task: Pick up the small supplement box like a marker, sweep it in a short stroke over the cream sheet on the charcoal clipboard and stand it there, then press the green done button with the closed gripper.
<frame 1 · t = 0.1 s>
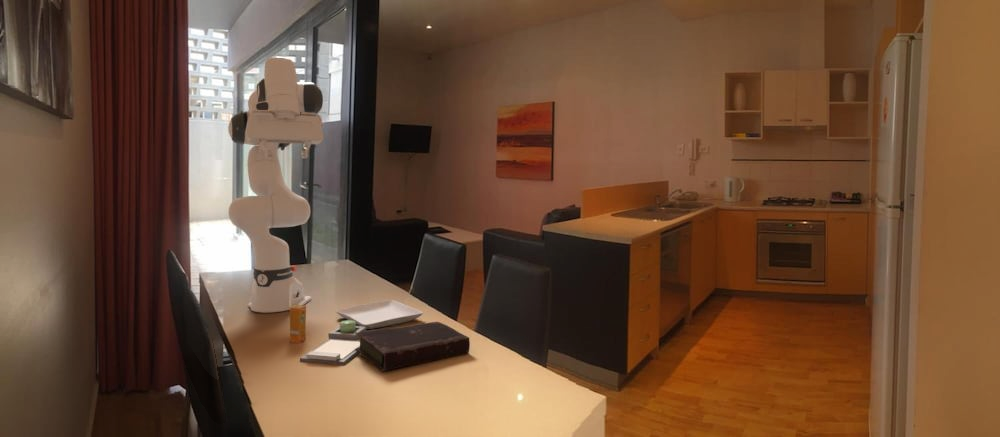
hand: (287, 157, 152), 52 cm above the table, tool tilted 20°, fingers open, 8 cm apart
done button: (347, 327, 159), point 3 cm above the table, slide at 0.0 cm
clipboard: (336, 352, 146), on the table
supplement box: (298, 341, 155), on the table
salad plate: (379, 321, 177), on the table
diary: (412, 352, 146), on the table, touching clipboard
button bezel: (347, 336, 160), on the table
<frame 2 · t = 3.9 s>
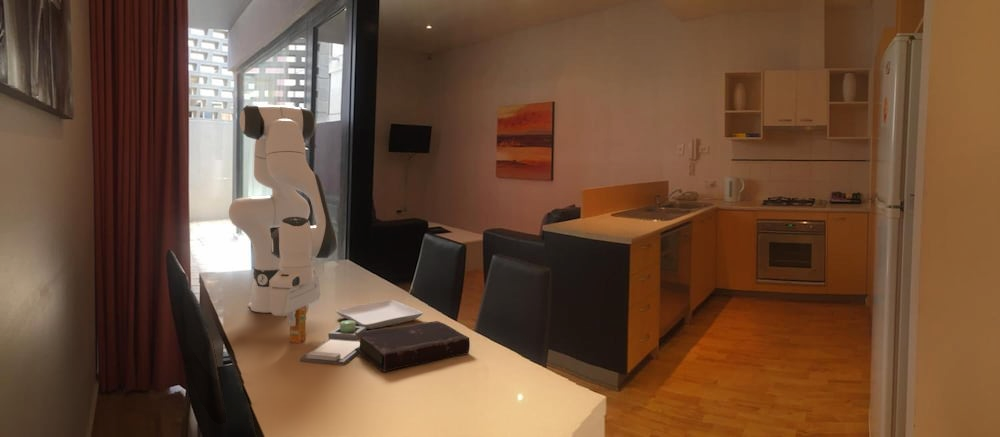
hand: (297, 323, 155), 5 cm above the table, tool pointing down, fingers closed on supplement box, 3 cm apart
supplement box: (298, 341, 155), on the table, touching gripper
everything else where it was.
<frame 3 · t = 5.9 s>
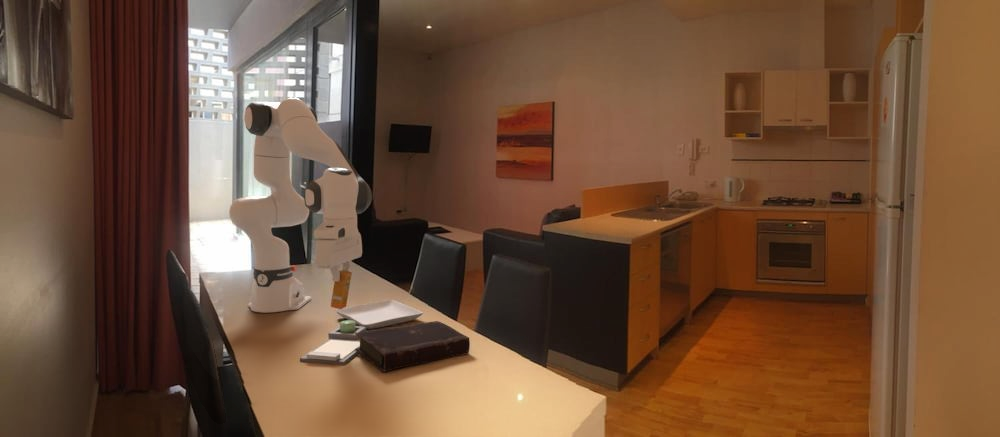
hand: (341, 279, 148), 19 cm above the table, tool pointing down, fingers closed on supplement box, 3 cm apart
supplement box: (338, 307, 148), point 11 cm above the table, touching gripper
everything else where it was.
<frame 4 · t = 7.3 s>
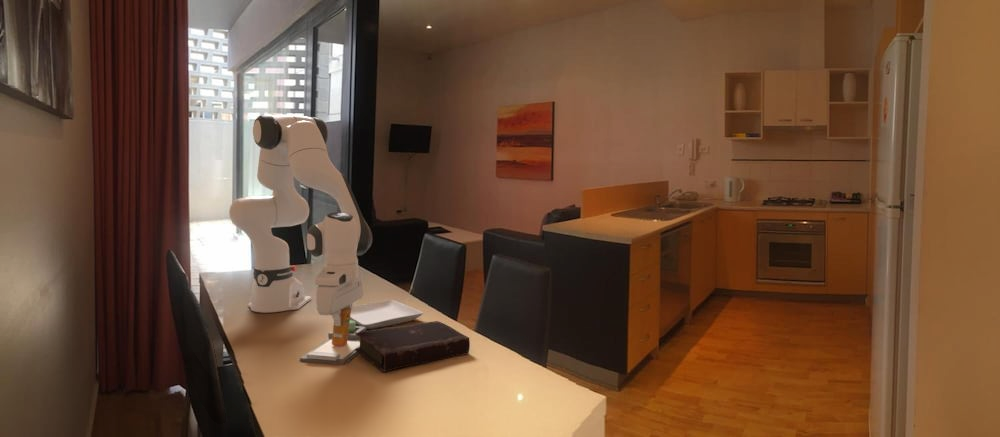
hand: (342, 322, 149), 7 cm above the table, tool pointing down, fingers closed on supplement box, 3 cm apart
supplement box: (340, 344, 149), point 1 cm above the table, touching clipboard, gripper
everything else where it was.
when the fingers open (7 cm above the table, at t = 9.0 s): supplement box stays where it is, resting on clipboard.
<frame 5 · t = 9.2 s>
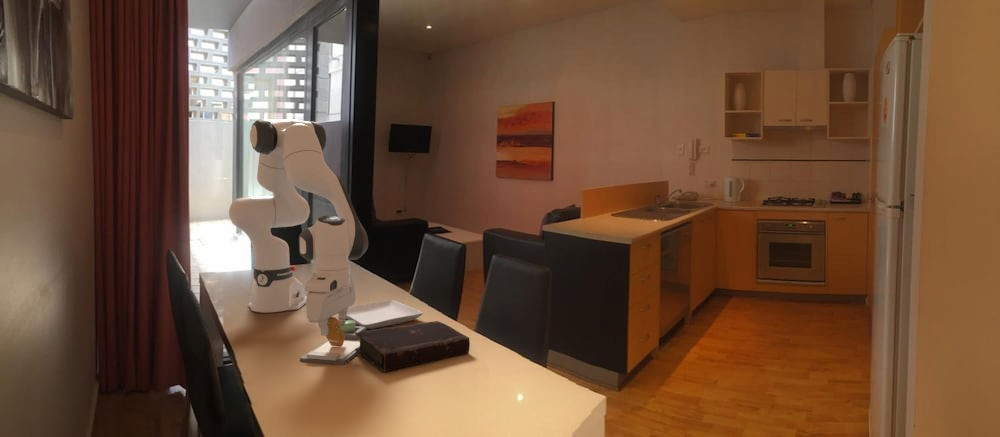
hand: (333, 329, 144), 7 cm above the table, tool pointing down, fingers open, 7 cm apart
supplement box: (339, 341, 149), point 2 cm above the table, touching clipboard, gripper
everything else where it was.
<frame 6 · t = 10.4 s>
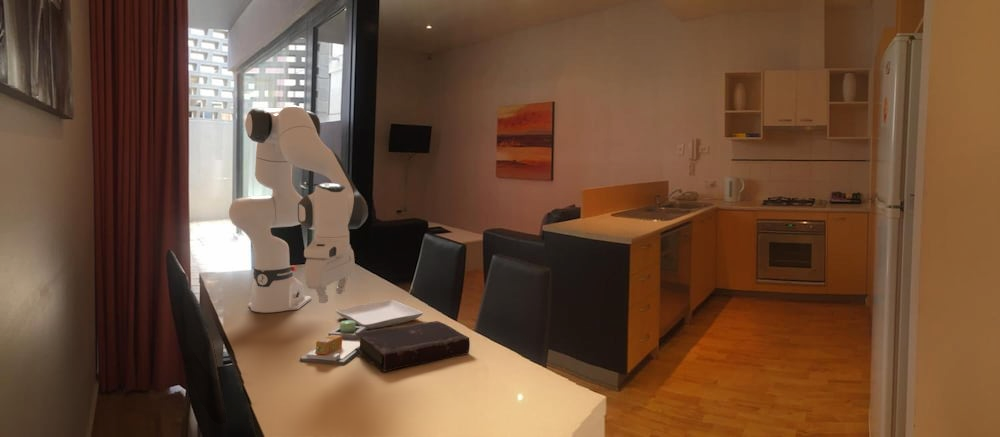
hand: (332, 297, 143), 15 cm above the table, tool pointing down, fingers open, 8 cm apart
supplement box: (337, 340, 148), point 3 cm above the table, touching clipboard
everything else where it was.
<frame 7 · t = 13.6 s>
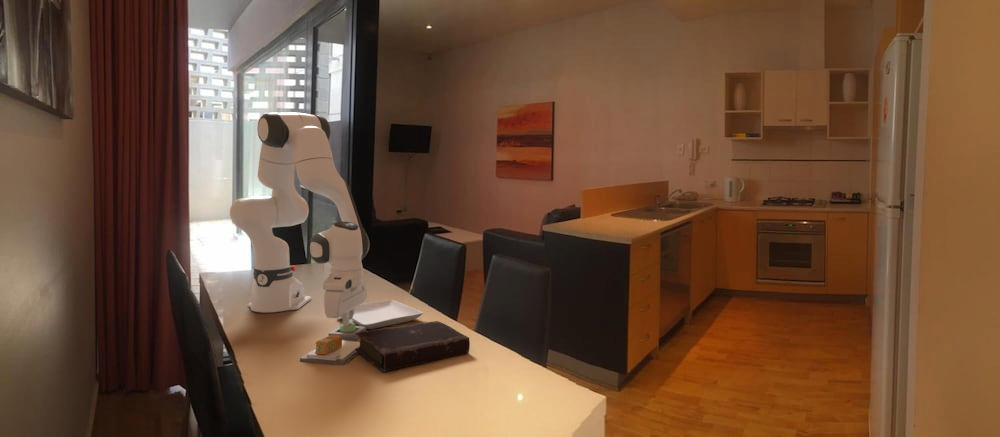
hand: (347, 324, 159), 4 cm above the table, tool pointing down, fingers closed, pressing on done button
done button: (347, 329, 159), point 2 cm above the table, slide at 0.7 cm, touching gripper
everything else where it was.
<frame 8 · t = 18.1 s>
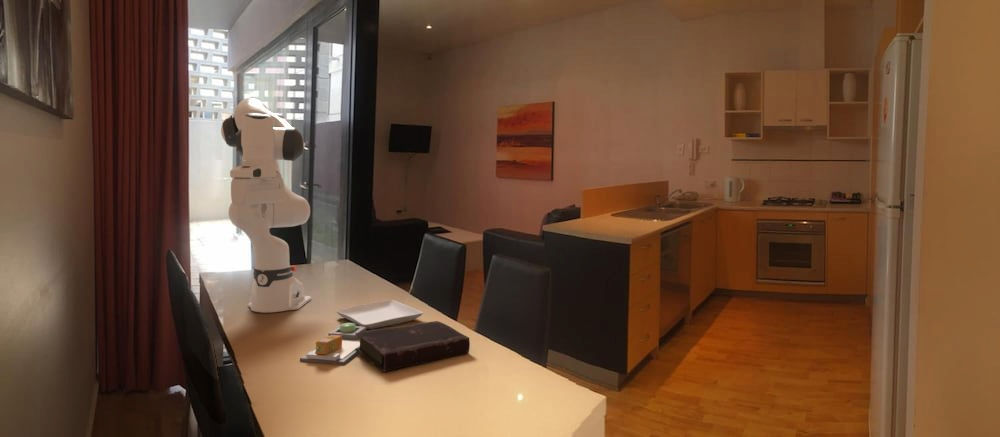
hand: (260, 219, 156), 34 cm above the table, tool pointing down, fingers closed
done button: (347, 330, 159), point 2 cm above the table, slide at 0.7 cm
everything else where it was.
at the end: supplement box inside the target area on the clipboard (2.0 cm from its centre), point 2.6 cm above the clipboard's base; done button slide at 0.7 cm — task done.
